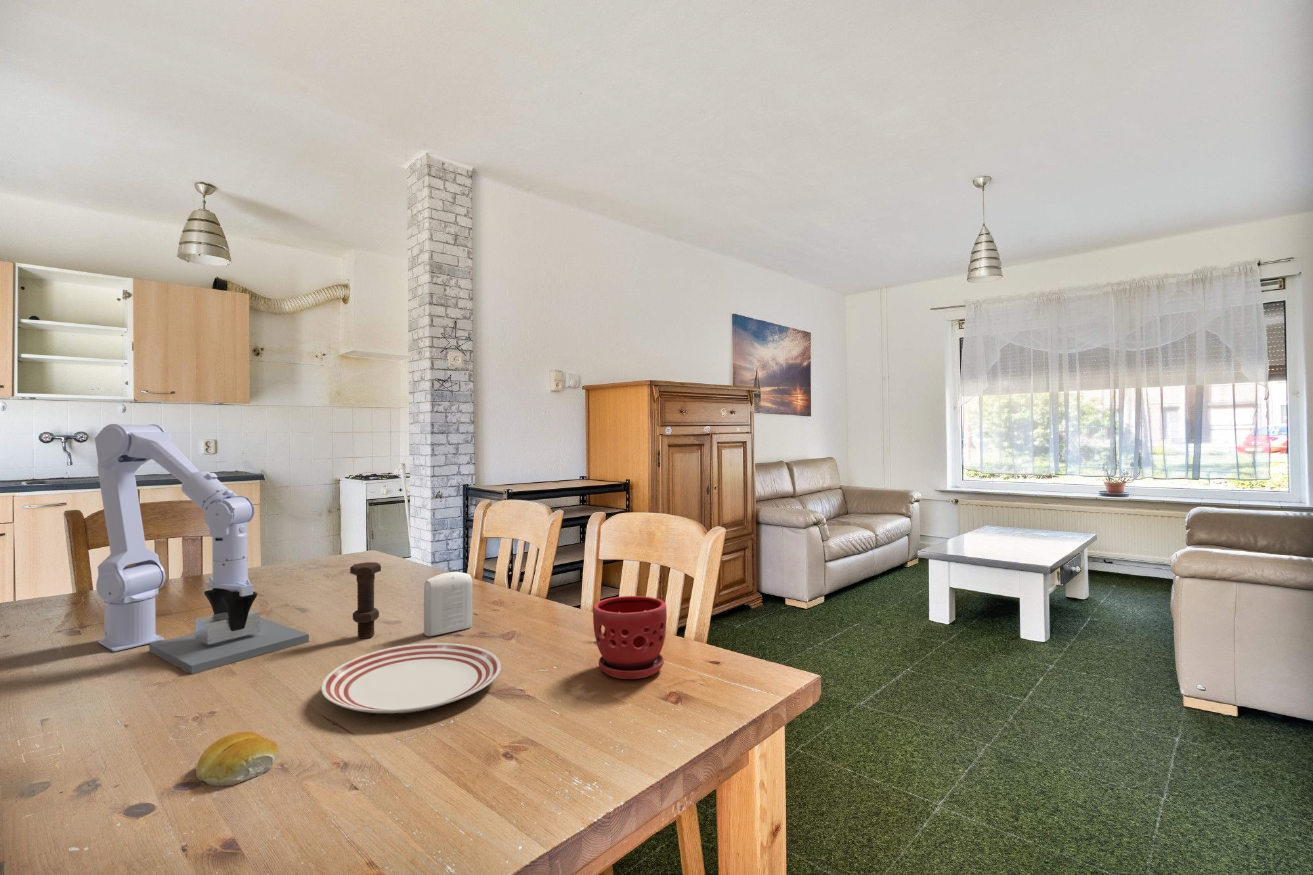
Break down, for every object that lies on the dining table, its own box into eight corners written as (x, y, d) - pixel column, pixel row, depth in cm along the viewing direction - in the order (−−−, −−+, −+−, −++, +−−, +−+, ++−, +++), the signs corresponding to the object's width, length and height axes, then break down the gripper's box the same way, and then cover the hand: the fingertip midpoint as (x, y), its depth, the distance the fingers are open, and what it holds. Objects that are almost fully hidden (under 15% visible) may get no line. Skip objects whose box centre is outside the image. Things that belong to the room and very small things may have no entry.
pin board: (149, 651, 118) (149, 631, 118) (262, 624, 135) (261, 606, 135) (191, 674, 107) (191, 651, 107) (308, 641, 124) (308, 621, 124)
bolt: (367, 642, 123) (367, 568, 123) (345, 640, 124) (345, 567, 124) (385, 633, 129) (385, 562, 129) (364, 631, 130) (364, 561, 130)
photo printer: (466, 623, 136) (466, 567, 135) (475, 627, 132) (475, 570, 132) (420, 633, 128) (420, 575, 128) (429, 638, 125) (428, 578, 125)
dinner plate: (531, 669, 110) (531, 651, 110) (427, 742, 84) (426, 718, 84) (407, 652, 119) (407, 635, 118) (278, 713, 93) (278, 691, 93)
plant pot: (677, 662, 112) (677, 597, 112) (646, 690, 100) (646, 617, 100) (615, 652, 118) (615, 590, 118) (579, 676, 106) (578, 607, 106)
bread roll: (254, 745, 83) (254, 716, 83) (288, 764, 78) (288, 733, 78) (182, 774, 76) (182, 742, 76) (214, 797, 71) (214, 763, 71)
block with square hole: (195, 639, 118) (195, 618, 118) (246, 627, 126) (246, 607, 126) (207, 644, 115) (207, 623, 115) (259, 631, 123) (259, 612, 123)
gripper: (191, 557, 121) (191, 625, 122) (223, 566, 113) (223, 639, 114) (231, 551, 127) (231, 616, 127) (264, 559, 119) (265, 629, 119)
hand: (230, 626), depth 121 cm, fingers closed on block with square hole, 6 cm apart
